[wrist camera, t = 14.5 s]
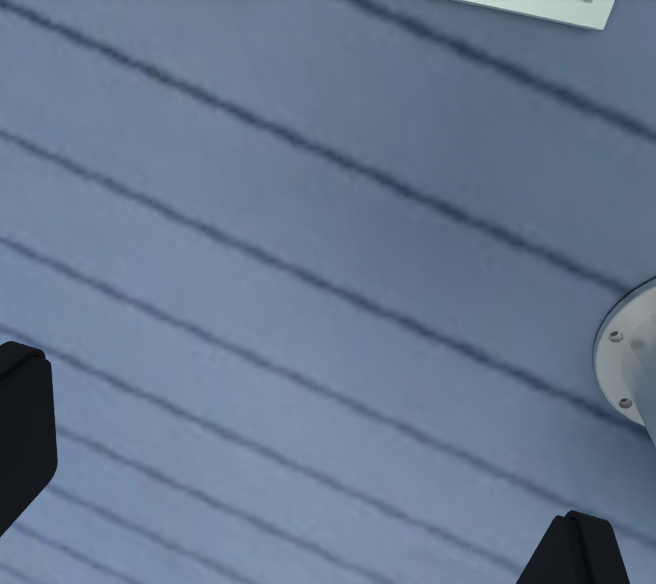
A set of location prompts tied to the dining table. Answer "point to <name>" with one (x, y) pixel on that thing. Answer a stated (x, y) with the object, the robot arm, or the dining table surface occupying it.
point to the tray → (555, 10)
